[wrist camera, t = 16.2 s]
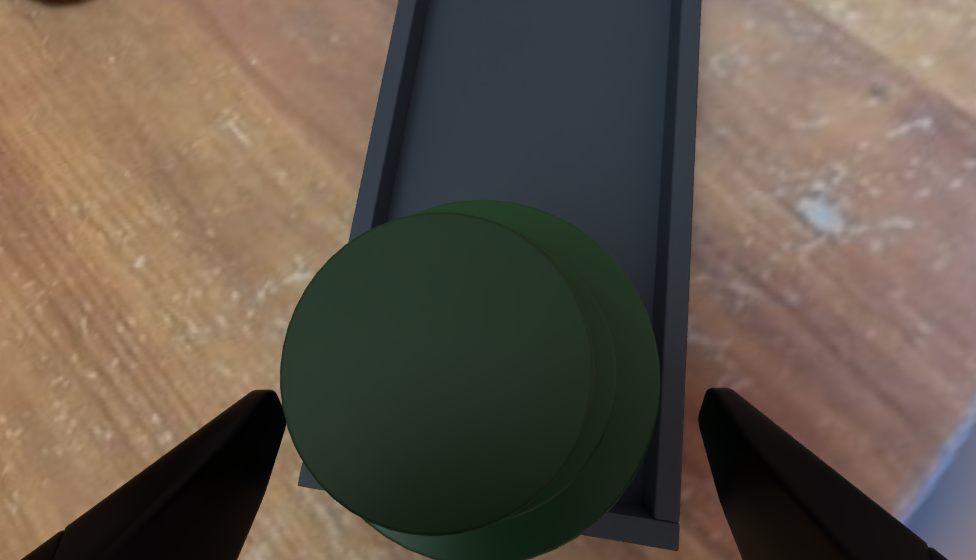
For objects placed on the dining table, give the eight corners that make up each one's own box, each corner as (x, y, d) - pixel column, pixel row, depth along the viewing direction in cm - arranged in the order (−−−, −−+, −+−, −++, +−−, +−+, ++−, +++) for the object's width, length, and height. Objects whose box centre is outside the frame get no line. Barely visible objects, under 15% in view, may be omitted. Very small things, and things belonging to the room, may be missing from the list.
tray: (658, 529, 15) (679, 551, 13) (323, 472, 17) (296, 486, 15) (692, -138, 21) (710, -189, 19) (445, -144, 23) (437, -193, 21)
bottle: (579, 468, 16) (849, 905, 3) (405, 447, 16) (-16, 730, 3) (588, 294, 17) (804, 56, 4) (428, 280, 17) (182, 33, 5)
